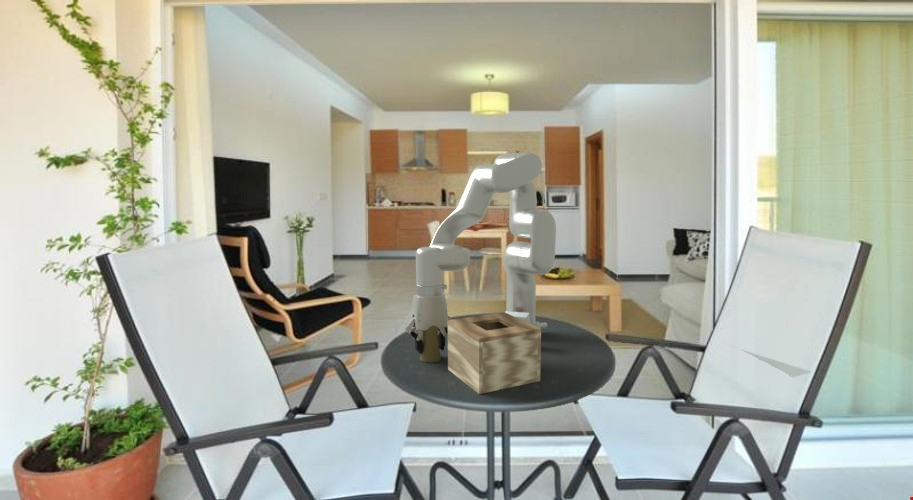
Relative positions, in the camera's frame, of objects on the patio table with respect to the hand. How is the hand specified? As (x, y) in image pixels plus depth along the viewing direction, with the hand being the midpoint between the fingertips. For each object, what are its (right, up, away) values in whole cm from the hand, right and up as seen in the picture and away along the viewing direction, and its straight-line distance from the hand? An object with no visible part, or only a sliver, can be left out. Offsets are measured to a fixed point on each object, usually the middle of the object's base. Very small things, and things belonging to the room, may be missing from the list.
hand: (430, 350), depth 147 cm
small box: (+26, -1, +11) cm, 28 cm away
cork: (0, -3, 0) cm, 3 cm away
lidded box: (+17, -4, -12) cm, 22 cm away
